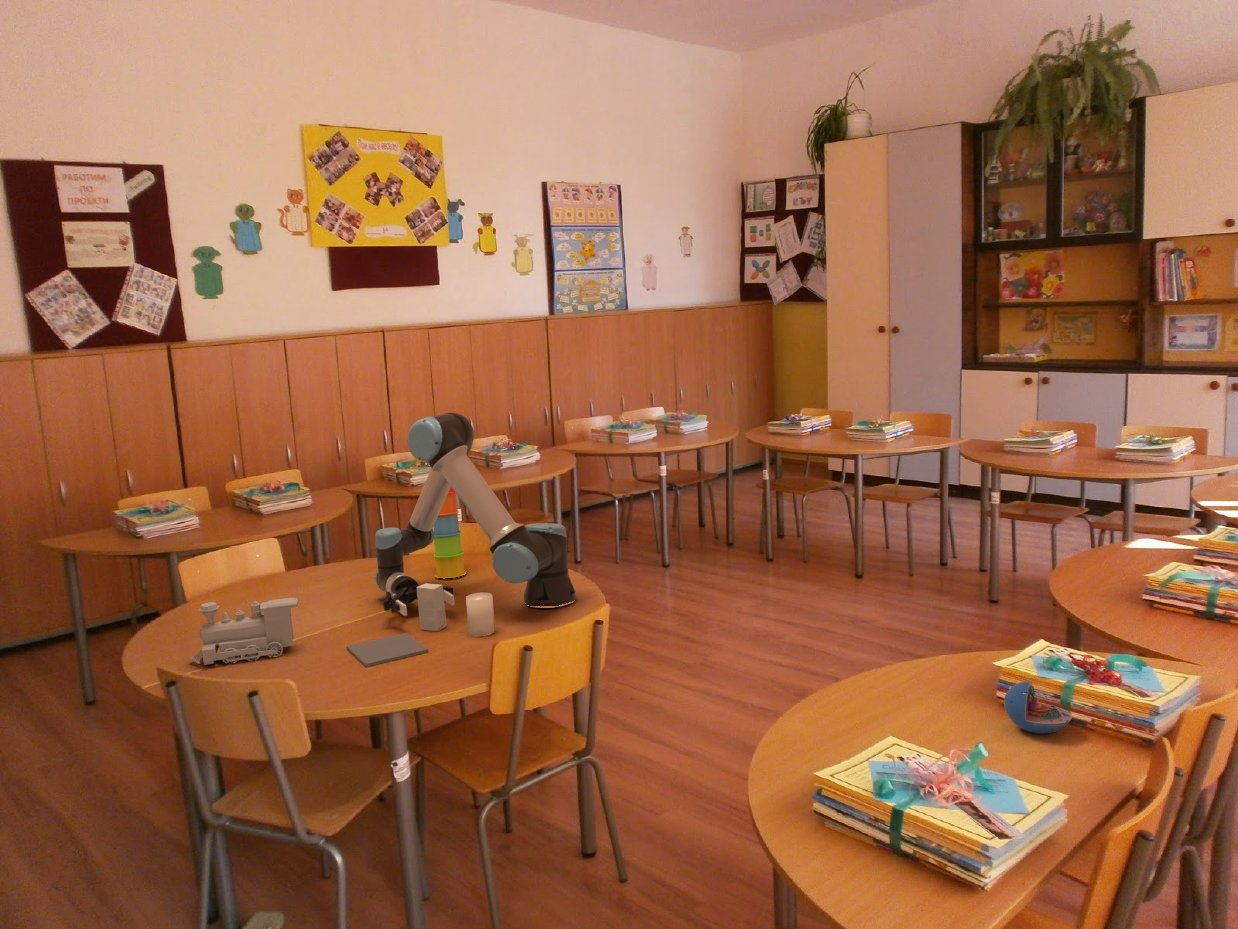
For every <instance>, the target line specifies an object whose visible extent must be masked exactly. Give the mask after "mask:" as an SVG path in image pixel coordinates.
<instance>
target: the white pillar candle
mask: <svg viewBox="0 0 1238 929" xmlns="http://www.w3.org/2000/svg"><path fill="white" fill-rule="evenodd" d="M493 597H494V596H493V594H492V593H490V592H474V593H471V594H470V593H469V594H467V596H465V603H466V604H465V605H466V616H467V617H466V618H467V631H468V636H470V637H472V636H473V638H478V637H477V636H483V635H487V634H489V633H493V632H494V631H495V632H496V627H495V626H496V624H495V613H494V612H495V611H494V598H493Z"/></svg>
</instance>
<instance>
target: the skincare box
mask: <svg viewBox="0 0 1238 929" xmlns="http://www.w3.org/2000/svg"><path fill="white" fill-rule="evenodd" d="M443 586H444V585H443V584H437V583H426V582H425V583H424V584H421V585H420V584H419V586H418V587H417V598H418V600H417V605H418V606H417V608H418V618H419V629H420V630H422V631H431V632H432V631H433V632H439V631H441V630H443V629H445V628H446V627H447V617H446V608H445V607H446V606H445V601H444V593H443Z"/></svg>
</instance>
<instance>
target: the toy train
mask: <svg viewBox="0 0 1238 929" xmlns="http://www.w3.org/2000/svg"><path fill="white" fill-rule="evenodd" d="M298 606H299V600H298V598H297V597H287V598H286V597H285V598H278V599H269V600H267V601H264V602H261V603H260V602H259V601H256V600H253V601H252V603H251V604H250V611H249V613H251V616H244V615H245V614H246V613H245V612H244V611H243V610H241V609H238V610H237V611H236V612H235V614H234V616H235V617H236V619H231V618H230V616H229V615H228V612H224V613H222V618H221V621H217V622H215V616H216V614H217V611H218V610H219V609H220V605H218V604H217V602H214V601H211V602H210V601H209V602H205V603H203V604H200V608H199V609H198V612H200V613H201V614H202V615H203V616H204V617H205V618H206V619H207V620H206V621H207V623H202V624H201V628H200V629H199V638H200V640H201V641H202V644H203V645H202V649H201V650H200V651H199V652H197V653H196V654H195V655H192V656H189V657H188V660H190V661H192V662H194V663H197V664H198V665H200V664H201V659H202V660H203V665H204V666H206V665H211V664H213V665H214V663H215V661H222V662H223V663H225V664H227V663H229V662H233V661H234V662H233V663H234V664H236V663H237V662H238V661H242V660H247V661H249V662H253V661H252V660H255V661H258V659H260V657H262V656H267V657H269V658H271V657H273V656H279V657H281V655H282V654H283V652H284V648H285V647H292V646H294V639H295V638H294V637H295V636H294V629H293V620H292V619H293V618H292V612H291V611H292V610H291V609H292V608H298ZM261 612H263V614H261ZM218 651H219V652H218ZM227 665H228V664H227Z"/></svg>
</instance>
